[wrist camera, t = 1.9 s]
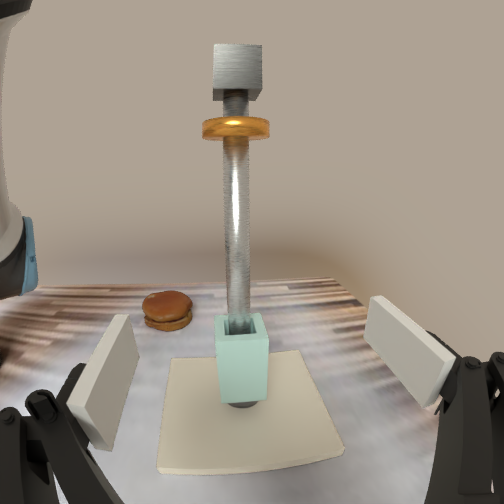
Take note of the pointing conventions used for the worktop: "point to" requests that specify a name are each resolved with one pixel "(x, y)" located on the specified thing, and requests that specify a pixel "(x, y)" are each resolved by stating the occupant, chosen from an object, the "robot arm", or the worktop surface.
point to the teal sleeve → (242, 361)
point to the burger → (167, 310)
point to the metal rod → (237, 168)
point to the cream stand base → (243, 421)
